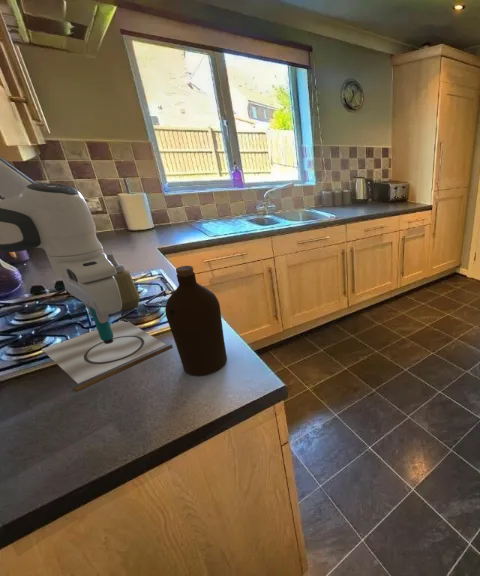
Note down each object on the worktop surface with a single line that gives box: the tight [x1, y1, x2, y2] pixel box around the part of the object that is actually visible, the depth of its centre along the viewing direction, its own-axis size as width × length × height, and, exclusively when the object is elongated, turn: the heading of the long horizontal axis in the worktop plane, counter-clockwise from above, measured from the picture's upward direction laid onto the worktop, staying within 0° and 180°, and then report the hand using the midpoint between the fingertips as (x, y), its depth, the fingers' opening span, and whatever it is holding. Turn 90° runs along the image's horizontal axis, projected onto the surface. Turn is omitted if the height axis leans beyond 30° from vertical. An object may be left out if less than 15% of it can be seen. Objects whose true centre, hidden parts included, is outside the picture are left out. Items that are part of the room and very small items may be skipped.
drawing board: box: [41, 320, 174, 393], centre depth 83 cm, size 24×20×1 cm
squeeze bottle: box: [106, 252, 141, 312], centre depth 99 cm, size 8×8×18 cm
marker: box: [89, 306, 114, 344], centre depth 76 cm, size 2×2×12 cm
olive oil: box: [165, 265, 228, 377], centre depth 74 cm, size 11×11×25 cm
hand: (100, 319), depth 76 cm, fingers closed on marker, 2 cm apart
